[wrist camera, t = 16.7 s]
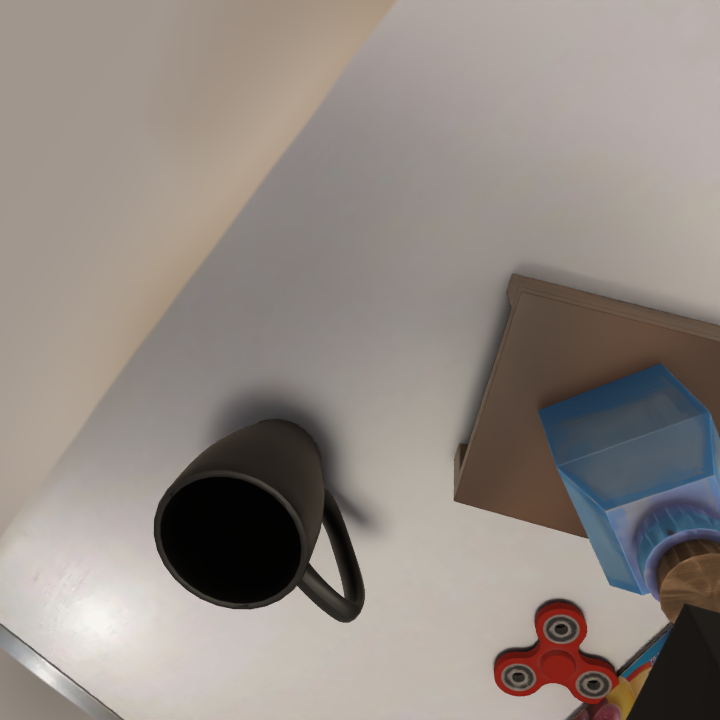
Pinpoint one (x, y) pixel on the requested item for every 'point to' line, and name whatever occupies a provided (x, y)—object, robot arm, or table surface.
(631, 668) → the juice carton
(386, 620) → the table surface
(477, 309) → the table surface
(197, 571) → the mug
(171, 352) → the table surface
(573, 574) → the table surface
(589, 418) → the perfume bottle
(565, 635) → the fidget spinner
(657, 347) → the shelf
